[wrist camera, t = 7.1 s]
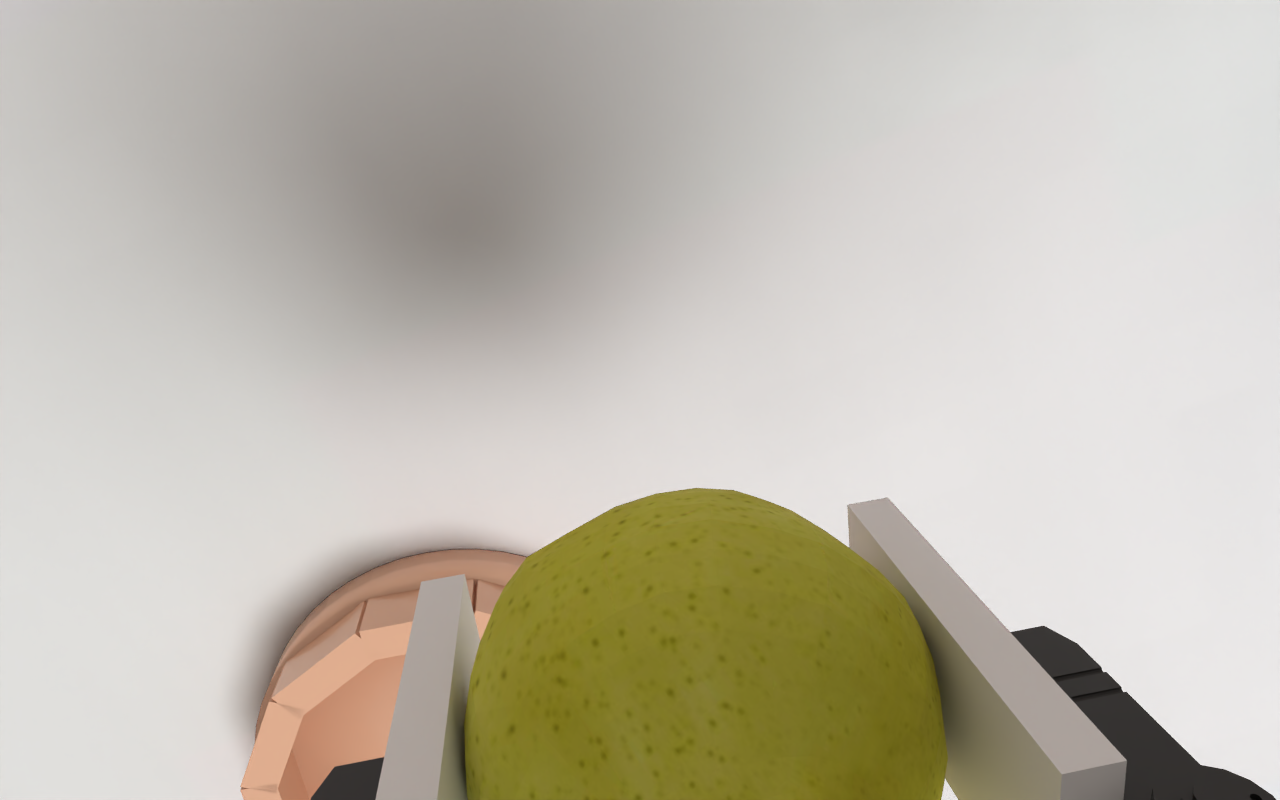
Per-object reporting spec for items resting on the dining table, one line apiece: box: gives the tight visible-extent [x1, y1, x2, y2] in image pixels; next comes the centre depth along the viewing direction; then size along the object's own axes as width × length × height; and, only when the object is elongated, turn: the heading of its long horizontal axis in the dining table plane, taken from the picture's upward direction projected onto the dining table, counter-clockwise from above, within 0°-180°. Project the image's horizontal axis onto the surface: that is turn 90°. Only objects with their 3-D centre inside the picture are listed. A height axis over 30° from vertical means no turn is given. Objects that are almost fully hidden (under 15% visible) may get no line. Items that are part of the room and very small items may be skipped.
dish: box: [240, 549, 527, 800], centre depth 33 cm, size 15×15×4 cm
